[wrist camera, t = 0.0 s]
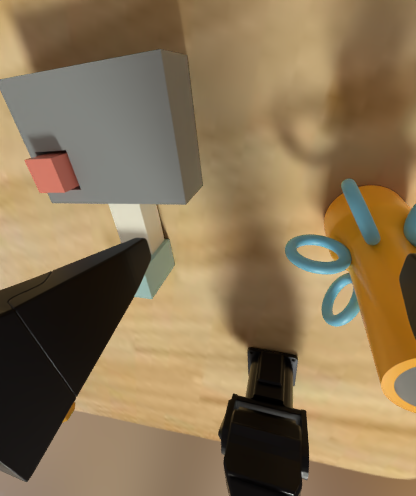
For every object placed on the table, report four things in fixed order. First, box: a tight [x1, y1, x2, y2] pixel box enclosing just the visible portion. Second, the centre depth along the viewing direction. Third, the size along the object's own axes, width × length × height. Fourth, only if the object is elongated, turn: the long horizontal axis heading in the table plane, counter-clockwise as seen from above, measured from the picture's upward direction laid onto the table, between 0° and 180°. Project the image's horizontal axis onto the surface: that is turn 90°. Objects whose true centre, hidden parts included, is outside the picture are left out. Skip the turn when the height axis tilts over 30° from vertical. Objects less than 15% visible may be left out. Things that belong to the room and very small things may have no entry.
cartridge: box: [109, 204, 175, 299], centre depth 24 cm, size 18×4×6 cm, turn 7°
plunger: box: [25, 150, 80, 193], centre depth 23 cm, size 3×3×5 cm
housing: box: [0, 49, 203, 204], centre depth 22 cm, size 10×14×5 cm
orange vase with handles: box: [285, 179, 416, 413], centre depth 16 cm, size 12×10×15 cm
